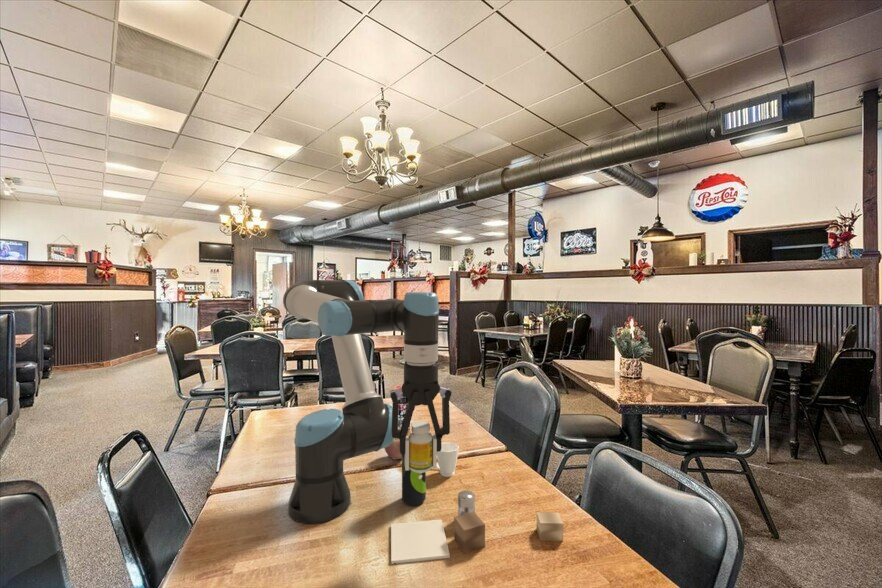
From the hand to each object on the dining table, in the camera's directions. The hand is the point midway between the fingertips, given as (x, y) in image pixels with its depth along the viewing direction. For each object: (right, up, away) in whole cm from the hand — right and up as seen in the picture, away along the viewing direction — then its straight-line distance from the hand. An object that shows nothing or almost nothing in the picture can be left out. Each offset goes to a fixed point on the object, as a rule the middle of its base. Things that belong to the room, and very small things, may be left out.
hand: (420, 466), depth 83 cm
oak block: (+29, -16, +2) cm, 33 cm away
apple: (-10, -16, +40) cm, 44 cm away
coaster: (0, -16, 0) cm, 16 cm away
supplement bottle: (0, 0, 0) cm, 0 cm away
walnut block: (+11, -16, -1) cm, 20 cm away
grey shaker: (+11, -16, +7) cm, 21 cm away
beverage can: (-3, -16, +15) cm, 23 cm away
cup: (+5, -16, +31) cm, 35 cm away
